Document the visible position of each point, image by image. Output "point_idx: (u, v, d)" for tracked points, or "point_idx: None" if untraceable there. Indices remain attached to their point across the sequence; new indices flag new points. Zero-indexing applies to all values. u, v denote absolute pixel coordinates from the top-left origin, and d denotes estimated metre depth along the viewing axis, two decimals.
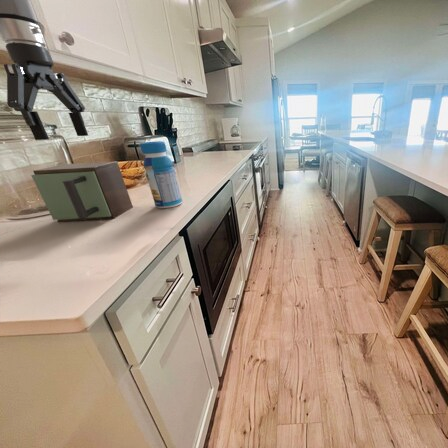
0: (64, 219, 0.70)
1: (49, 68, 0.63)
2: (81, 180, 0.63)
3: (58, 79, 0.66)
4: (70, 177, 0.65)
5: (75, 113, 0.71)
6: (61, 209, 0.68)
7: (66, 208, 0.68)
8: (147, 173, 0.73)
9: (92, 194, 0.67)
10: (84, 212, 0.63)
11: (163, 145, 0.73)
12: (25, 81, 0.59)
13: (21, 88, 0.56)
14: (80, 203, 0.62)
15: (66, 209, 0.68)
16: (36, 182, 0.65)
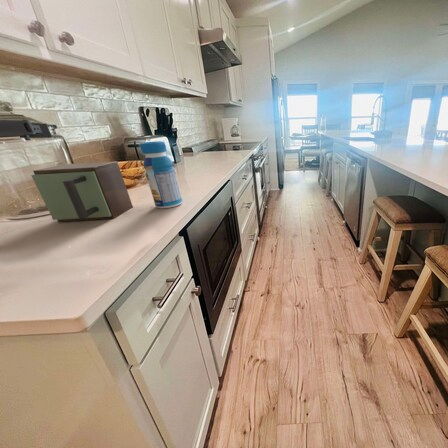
0: (64, 219, 0.70)
1: None
2: (81, 180, 0.63)
3: None
4: (70, 177, 0.65)
5: None
6: (61, 209, 0.68)
7: (66, 208, 0.68)
8: (147, 173, 0.73)
9: (92, 194, 0.67)
10: (84, 212, 0.63)
11: (163, 145, 0.73)
12: None
13: None
14: (80, 203, 0.62)
15: (66, 209, 0.68)
16: (36, 182, 0.65)
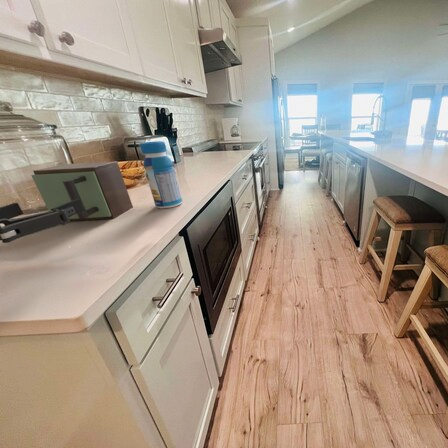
0: None
1: None
2: (81, 180, 0.63)
3: None
4: (70, 177, 0.65)
5: None
6: None
7: None
8: (147, 173, 0.73)
9: (92, 194, 0.67)
10: (84, 212, 0.63)
11: (163, 145, 0.73)
12: None
13: None
14: None
15: None
16: (36, 182, 0.65)
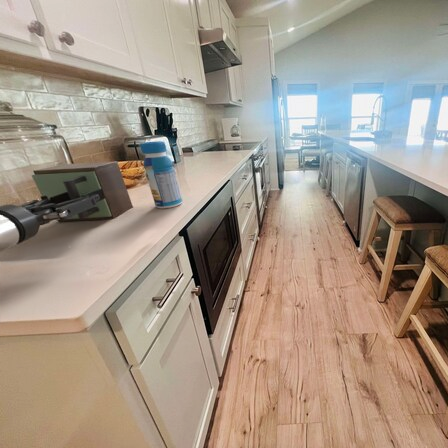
0: None
1: None
2: (81, 180, 0.63)
3: None
4: (70, 177, 0.65)
5: None
6: None
7: None
8: (147, 173, 0.73)
9: None
10: (84, 212, 0.63)
11: (163, 145, 0.73)
12: None
13: None
14: None
15: None
16: (36, 182, 0.65)
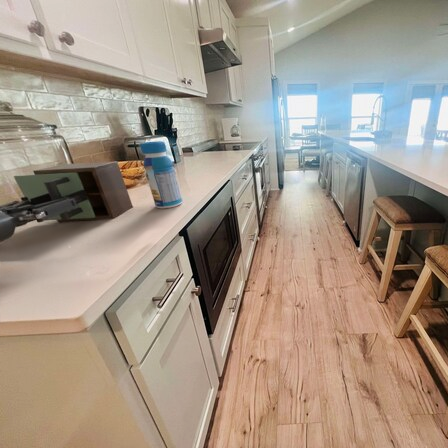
0: None
1: None
2: (63, 181, 0.63)
3: None
4: (53, 178, 0.64)
5: None
6: None
7: None
8: (147, 173, 0.73)
9: None
10: (66, 213, 0.63)
11: (163, 145, 0.73)
12: None
13: None
14: None
15: None
16: (19, 183, 0.64)
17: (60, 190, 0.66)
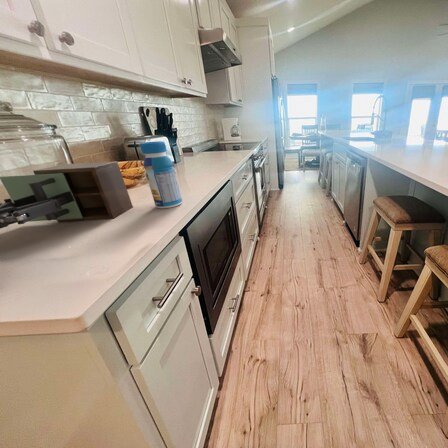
0: (64, 219, 0.70)
1: None
2: (49, 182, 0.63)
3: None
4: (39, 179, 0.64)
5: None
6: None
7: None
8: (147, 173, 0.73)
9: None
10: (52, 214, 0.63)
11: (163, 145, 0.73)
12: None
13: None
14: None
15: None
16: (5, 184, 0.64)
17: (46, 191, 0.66)
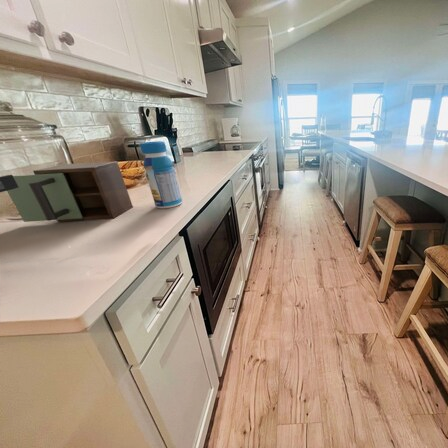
0: (64, 219, 0.70)
1: None
2: (49, 182, 0.63)
3: None
4: (39, 179, 0.64)
5: None
6: (31, 211, 0.68)
7: (36, 210, 0.68)
8: (147, 173, 0.73)
9: (62, 196, 0.66)
10: (52, 214, 0.63)
11: (163, 145, 0.73)
12: None
13: None
14: (47, 205, 0.62)
15: (36, 211, 0.68)
16: None
17: (46, 191, 0.66)
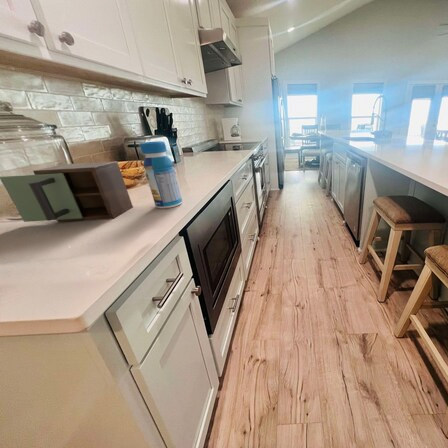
0: (64, 219, 0.70)
1: None
2: (49, 182, 0.63)
3: None
4: (39, 179, 0.64)
5: None
6: (31, 211, 0.68)
7: (36, 210, 0.68)
8: (147, 173, 0.73)
9: (62, 196, 0.66)
10: (52, 214, 0.63)
11: (163, 145, 0.73)
12: None
13: None
14: (47, 205, 0.62)
15: (36, 211, 0.68)
16: (5, 184, 0.64)
17: (46, 191, 0.66)
